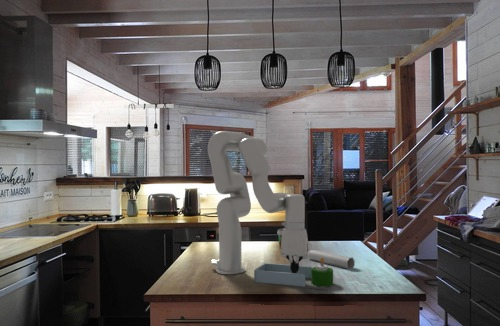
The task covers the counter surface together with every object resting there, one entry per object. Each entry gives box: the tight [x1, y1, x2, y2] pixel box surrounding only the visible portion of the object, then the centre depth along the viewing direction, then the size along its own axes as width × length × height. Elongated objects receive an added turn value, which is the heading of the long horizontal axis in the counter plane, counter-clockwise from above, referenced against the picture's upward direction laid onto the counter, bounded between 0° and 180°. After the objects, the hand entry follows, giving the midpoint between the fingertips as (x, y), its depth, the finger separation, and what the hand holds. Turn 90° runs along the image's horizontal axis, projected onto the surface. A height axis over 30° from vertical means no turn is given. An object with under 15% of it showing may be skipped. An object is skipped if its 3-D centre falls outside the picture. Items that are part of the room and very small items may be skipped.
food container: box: [276, 227, 285, 250], centre depth 226 cm, size 12×6×10 cm, turn 144°
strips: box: [306, 285, 327, 291], centre depth 160 cm, size 7×15×1 cm, turn 160°
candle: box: [310, 258, 334, 287], centre depth 159 cm, size 8×8×10 cm
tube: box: [307, 249, 356, 270], centre depth 190 cm, size 5×5×25 cm
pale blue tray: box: [253, 262, 313, 288], centre depth 164 cm, size 20×13×4 cm, turn 70°
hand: (294, 272), depth 163 cm, fingers closed
